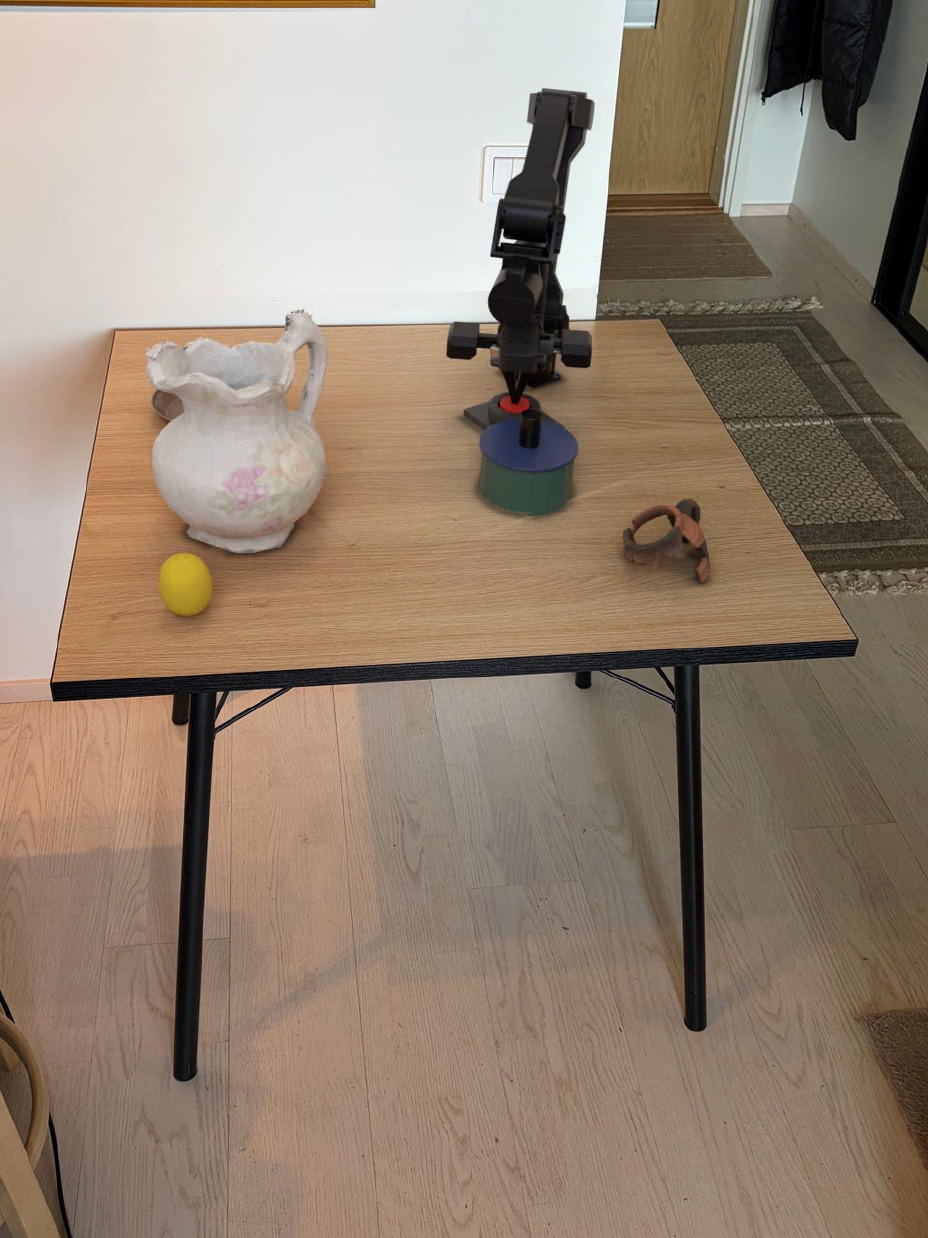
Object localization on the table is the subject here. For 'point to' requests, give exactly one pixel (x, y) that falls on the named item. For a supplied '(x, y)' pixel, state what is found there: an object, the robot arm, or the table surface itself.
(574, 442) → the lid
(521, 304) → the robot arm
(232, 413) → the ceramic pitcher
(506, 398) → the button
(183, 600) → the lemon
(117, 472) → the table surface
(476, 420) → the switch block
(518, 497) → the pot
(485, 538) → the table surface
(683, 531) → the broken clay ring
